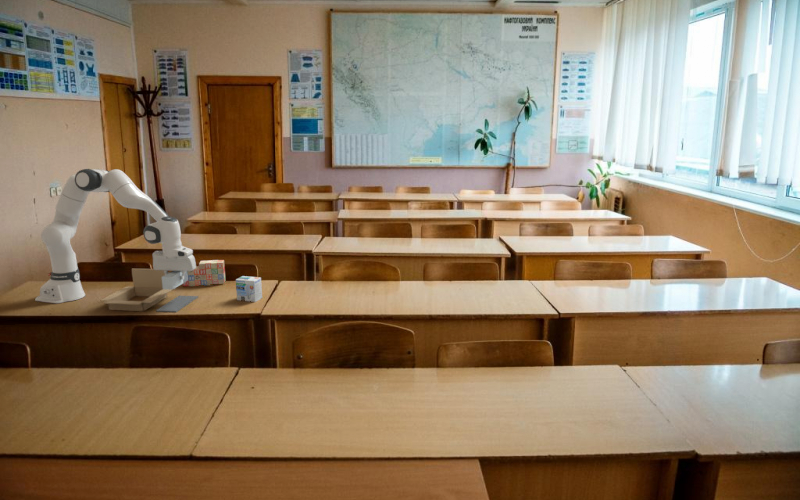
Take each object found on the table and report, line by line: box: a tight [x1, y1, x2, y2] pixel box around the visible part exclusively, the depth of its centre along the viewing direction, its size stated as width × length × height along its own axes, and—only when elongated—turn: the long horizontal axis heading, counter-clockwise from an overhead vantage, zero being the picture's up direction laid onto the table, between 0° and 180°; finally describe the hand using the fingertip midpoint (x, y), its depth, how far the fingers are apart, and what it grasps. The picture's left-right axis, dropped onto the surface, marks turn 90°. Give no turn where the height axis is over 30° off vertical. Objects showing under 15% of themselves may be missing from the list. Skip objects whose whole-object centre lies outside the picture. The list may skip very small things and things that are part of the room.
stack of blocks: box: [182, 259, 227, 287], centre depth 317 cm, size 21×6×12 cm, turn 99°
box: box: [162, 271, 188, 291], centre depth 283 cm, size 5×15×8 cm, turn 172°
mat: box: [155, 295, 199, 313], centre depth 286 cm, size 10×22×1 cm, turn 172°
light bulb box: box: [235, 275, 263, 303], centre depth 291 cm, size 11×7×11 cm, turn 73°
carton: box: [99, 268, 172, 312], centre depth 286 cm, size 26×25×14 cm
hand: (175, 279), depth 284 cm, fingers closed on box, 5 cm apart
